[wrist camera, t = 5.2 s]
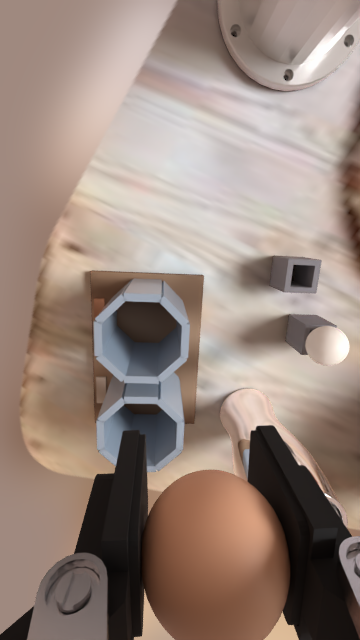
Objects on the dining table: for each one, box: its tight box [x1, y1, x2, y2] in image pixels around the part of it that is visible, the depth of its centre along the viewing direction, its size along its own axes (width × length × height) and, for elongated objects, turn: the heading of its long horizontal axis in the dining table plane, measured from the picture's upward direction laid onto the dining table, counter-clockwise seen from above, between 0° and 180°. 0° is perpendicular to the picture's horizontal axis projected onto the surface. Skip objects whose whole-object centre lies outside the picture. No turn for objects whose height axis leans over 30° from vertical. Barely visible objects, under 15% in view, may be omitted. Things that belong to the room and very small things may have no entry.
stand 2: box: [286, 314, 337, 355], centre depth 32 cm, size 3×3×4 cm
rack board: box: [91, 271, 204, 424], centre depth 33 cm, size 17×11×1 cm, turn 177°
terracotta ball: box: [141, 470, 290, 640], centre depth 8 cm, size 4×4×4 cm
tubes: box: [94, 278, 190, 472], centre depth 29 cm, size 16×7×8 cm, turn 177°
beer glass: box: [220, 389, 348, 528], centre depth 29 cm, size 7×7×15 cm
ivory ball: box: [305, 326, 349, 366], centre depth 28 cm, size 4×4×4 cm
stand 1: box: [270, 256, 321, 293], centre depth 30 cm, size 3×3×4 cm
